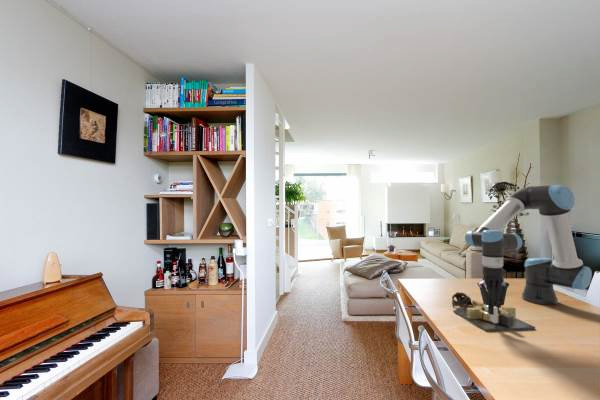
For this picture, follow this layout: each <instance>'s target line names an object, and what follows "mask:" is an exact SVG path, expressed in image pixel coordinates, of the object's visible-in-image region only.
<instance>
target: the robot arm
mask: <svg viewBox="0 0 600 400" xmlns="http://www.w3.org/2000/svg"><path fill="white" fill-rule="evenodd" d="M575 199H576V198H575V194H574V192H573V191H572V189H571V188H570V187H568V186H566V185H563V184H550V185H538V186H537V185H536V186H526V187H523V188H521V189H519V190H516V191H515V192H513V193H512V194H510V195H509V196H507V197H506V198H505V200H504V201H503V204H502V205H501V206H500V207H499V208H498V209H497V210H496V211H495V212H494V213H492V214H491V215H490V216H489V218H488V219H487V220H486V221H485V222H483V223H482V224H481V225H480V226H479V227H478V228H477V229H476V230H468V231H467V232H466V233H465V235H464V241H465V243H466V245H468V246H470V247H475V248H481V249H482V256H481V259H482V260H481V262H482V263H481V264H482V275H483V277H482V281H479V282H477V283H476V284H477V286H478V288H479V292H480V295H481V299H482V303H484V305H487V306H488V313H489V314H490V321H491V322H493V323H498V314H499V308H501V309H502V307H504V304H505V301H506V296H507V292H508V291H507V290H508V288H509V286H510V283H509V282H506V281H505V280H504V277H505V275H504V273H505V272H504V268H503V267H504V252H513V251H517V250H519V249H521V247H523V239H522V237H520V235H519V234H516V233H513V232H512V233H511V232H509V233H504V232H503V231H502V230H503V229H504V228H505V227H506V226H507V225H508V224H509V223H510V222H511V221H512V220H513V218H515V217H516V216H517V215H518V214H522V213H523V212H524V211H527V210H538V212H539V215H540V216H542V217H544V220H545V224H546V229H547V233H548V237H549V241H550V245H551V250H552V252H553V257H554V259H553V258H550V257H548V258H547V257H531V258H530V257H529V258H527V259H526V260H525V262H524V264H525V265H524V268H525V270H524V272H525V273H524V274H525V286H524V288H523V291H522V294H521V298H522V300H524V301H527V302H530V303H533V304H538V305H545V306H546V305H547V306H556V305H558V303H559V299H558V297H557V295H556V292H555V290H554V285H556V286H560V287H564V288H565V287H566V288H570V289H572V290H580V291H583V290H586V289H587V288H588V287H590V283H591V281H592V275H593V273H592V269H591V268H590V267H589V266H585V265H584V263H583V260H582V259H580V258H578V254H577V249H576V245H575V241H574V237H573V232H572V229H571V224H570V220H569V216H568V214H569V213H570V212H571V210H572V209H573V208H574V206H575Z"/></svg>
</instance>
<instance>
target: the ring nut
mask: <svg viewBox="0 0 600 400" xmlns="http://www.w3.org/2000/svg"><path fill="white" fill-rule="evenodd" d="M471 302H472V304H473V308H472V307H466V310H467V317H468V318H470V319H476V318H480V319H484V320H487V321H490V314H489V313H488V312H485V304H484V303H483V301H480V300H478V299H475V300H473V299H471ZM513 317H515V318H517V313H516V307H514V306H511V305H509V306H501V308H499V314H498V322H499V323H501V324H503V325H505V326H507V327H513Z"/></svg>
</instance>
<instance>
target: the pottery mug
mask: <svg viewBox="0 0 600 400" xmlns="http://www.w3.org/2000/svg"><path fill="white" fill-rule="evenodd" d="M451 299H452V300H451V304H452V307H453V308H454V307H463V306H470V307H471V308H473V304H472V298H471V297H470V296H469V295H467V294H466V293H465V292H458V291H457V292H455V293H454V294H453V295H452V296H451Z"/></svg>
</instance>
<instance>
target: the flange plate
mask: <svg viewBox="0 0 600 400" xmlns="http://www.w3.org/2000/svg"><path fill="white" fill-rule="evenodd" d="M484 305H485V304H484ZM485 312H488V306H487V305H485ZM453 313H454V314H456V315H457V316H459V317H460V318H463V319H465V320H466V321H468V322H469V323H471V324H472V325H474V326H476V327H477V328H479V329H480V330H482V331H484V332H505V331H506V332H509V331H530V330H531V331H533V330H536V326H534V325H532V324H530V323H527V322H525V321H523V320H521V319H519V318H517V317H513V327H507V326H505V325H503V324H501V323H499V322H498V323H493V322H491V321H487V320H484V319H480V318H476V319H470V318H468V317H467V309H453Z"/></svg>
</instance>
